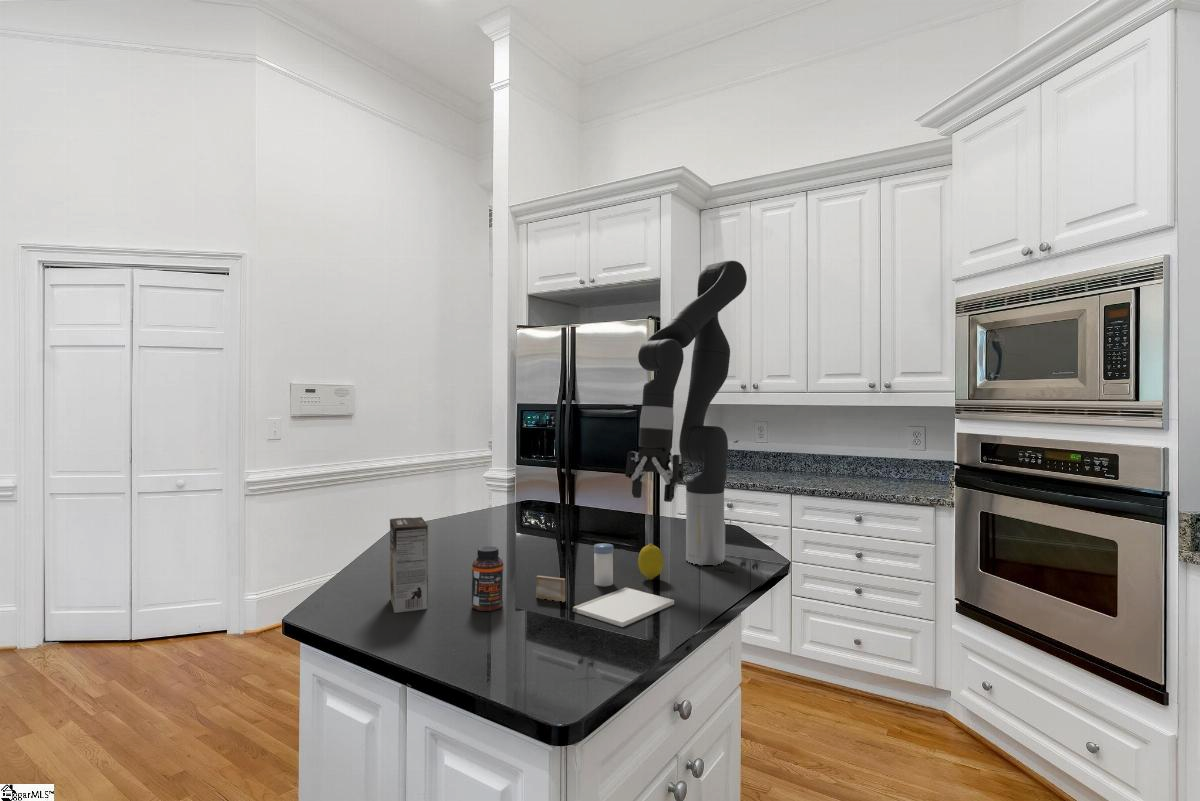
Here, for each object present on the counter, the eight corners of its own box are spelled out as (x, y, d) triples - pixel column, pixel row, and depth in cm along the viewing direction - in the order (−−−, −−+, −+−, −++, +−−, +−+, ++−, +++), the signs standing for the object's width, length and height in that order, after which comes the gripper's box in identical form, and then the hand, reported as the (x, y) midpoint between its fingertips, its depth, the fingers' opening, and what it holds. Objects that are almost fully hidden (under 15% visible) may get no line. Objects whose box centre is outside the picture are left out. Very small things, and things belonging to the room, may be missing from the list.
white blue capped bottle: (602, 579, 137) (602, 542, 137) (617, 583, 134) (617, 545, 134) (589, 583, 134) (589, 545, 134) (604, 587, 131) (604, 549, 131)
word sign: (537, 597, 125) (538, 575, 125) (565, 600, 123) (565, 578, 123) (536, 598, 124) (536, 576, 124) (563, 602, 122) (563, 579, 122)
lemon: (662, 584, 133) (662, 547, 133) (636, 582, 135) (636, 545, 135) (664, 576, 139) (664, 541, 139) (640, 575, 140) (640, 540, 140)
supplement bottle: (476, 614, 115) (476, 553, 115) (468, 604, 120) (468, 546, 120) (507, 609, 118) (507, 549, 118) (497, 600, 123) (497, 543, 123)
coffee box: (389, 599, 124) (389, 518, 123) (422, 595, 126) (422, 515, 126) (393, 613, 115) (393, 527, 115) (428, 609, 118) (428, 524, 118)
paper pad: (626, 591, 129) (626, 587, 129) (674, 604, 121) (674, 599, 121) (572, 611, 116) (572, 607, 116) (622, 627, 109) (622, 622, 109)
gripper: (692, 429, 138) (688, 502, 137) (641, 427, 147) (636, 495, 146) (673, 427, 132) (669, 503, 131) (621, 425, 142) (616, 496, 141)
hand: (652, 499), depth 139 cm, fingers open, 8 cm apart
